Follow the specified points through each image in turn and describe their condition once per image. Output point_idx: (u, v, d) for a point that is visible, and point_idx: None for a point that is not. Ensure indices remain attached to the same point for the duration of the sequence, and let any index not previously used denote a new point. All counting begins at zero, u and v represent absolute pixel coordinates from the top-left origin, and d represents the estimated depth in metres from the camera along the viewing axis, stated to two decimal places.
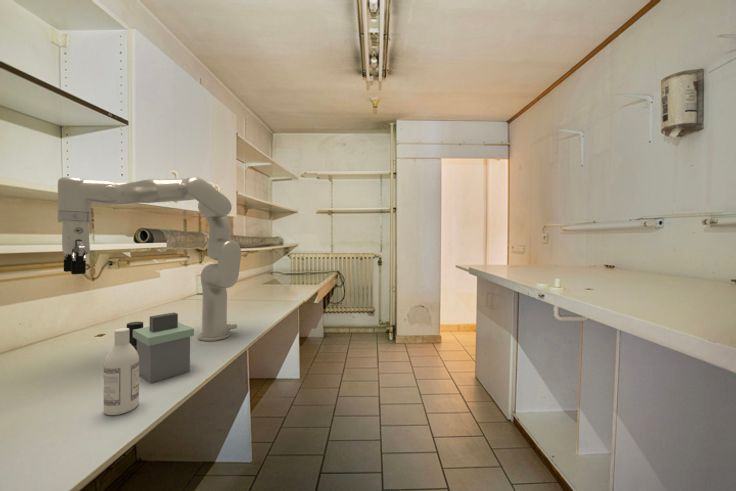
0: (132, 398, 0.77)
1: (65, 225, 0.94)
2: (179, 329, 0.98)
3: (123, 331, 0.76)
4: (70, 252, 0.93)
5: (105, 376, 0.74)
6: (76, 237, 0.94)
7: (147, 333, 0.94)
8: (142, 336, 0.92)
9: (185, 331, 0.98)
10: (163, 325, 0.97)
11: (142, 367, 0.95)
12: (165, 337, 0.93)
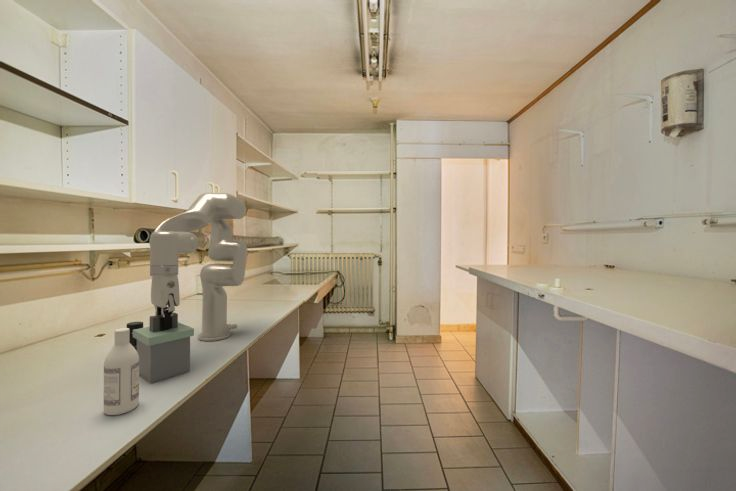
0: (132, 398, 0.77)
1: (158, 279, 0.95)
2: (179, 329, 0.98)
3: (123, 331, 0.76)
4: (163, 306, 0.94)
5: (105, 376, 0.74)
6: (169, 291, 0.95)
7: (147, 333, 0.94)
8: (142, 336, 0.92)
9: (185, 331, 0.98)
10: None
11: (142, 367, 0.95)
12: (165, 337, 0.93)
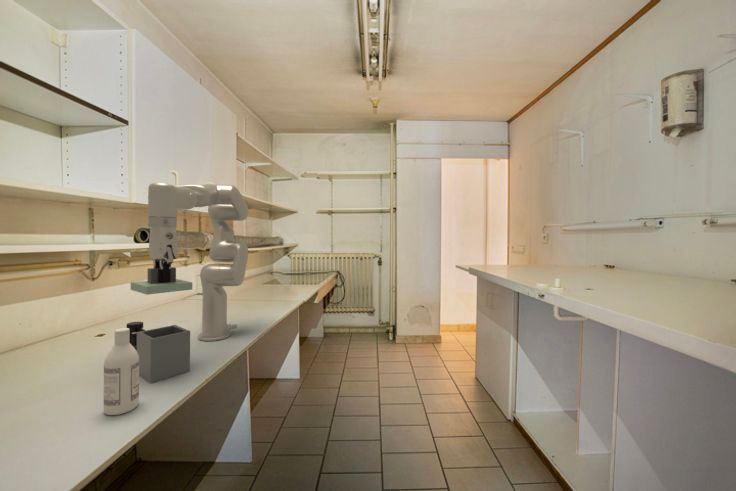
0: (132, 398, 0.77)
1: (156, 230, 0.95)
2: (177, 282, 0.98)
3: (123, 331, 0.76)
4: (162, 257, 0.94)
5: (105, 376, 0.74)
6: (167, 243, 0.94)
7: (145, 284, 0.93)
8: (140, 286, 0.92)
9: (183, 284, 0.97)
10: None
11: (142, 367, 0.95)
12: (163, 287, 0.93)
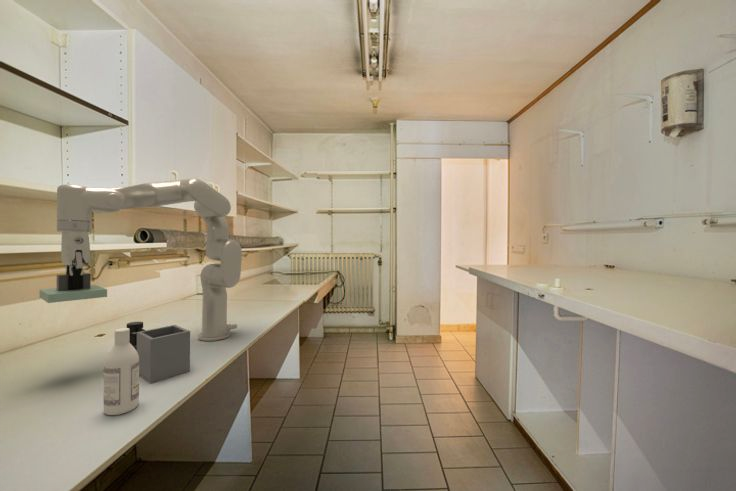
0: (132, 398, 0.77)
1: (64, 235, 0.90)
2: (90, 289, 0.93)
3: (123, 331, 0.76)
4: (70, 263, 0.89)
5: (105, 376, 0.74)
6: (76, 248, 0.89)
7: (51, 291, 0.88)
8: (44, 294, 0.87)
9: (96, 291, 0.92)
10: None
11: (142, 367, 0.95)
12: (69, 295, 0.88)
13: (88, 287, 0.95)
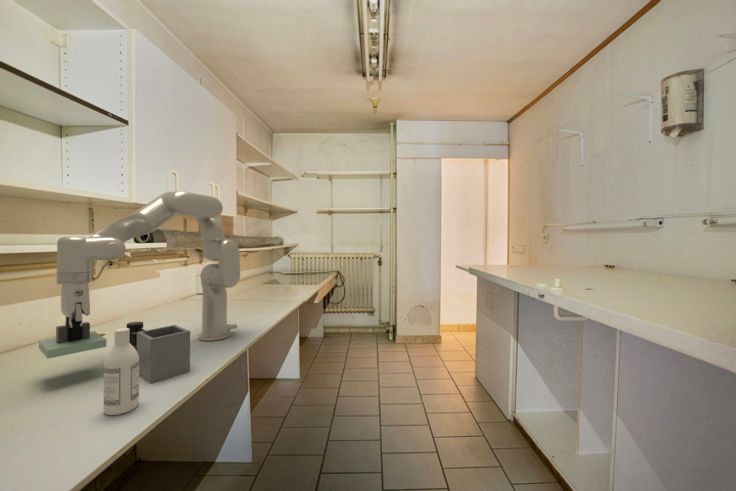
0: (132, 398, 0.77)
1: (64, 287, 0.90)
2: (89, 340, 0.93)
3: (123, 331, 0.76)
4: (69, 316, 0.89)
5: (105, 376, 0.74)
6: (76, 300, 0.90)
7: (51, 344, 0.88)
8: (44, 348, 0.87)
9: (95, 342, 0.92)
10: None
11: (142, 367, 0.95)
12: (69, 348, 0.88)
13: (87, 337, 0.95)
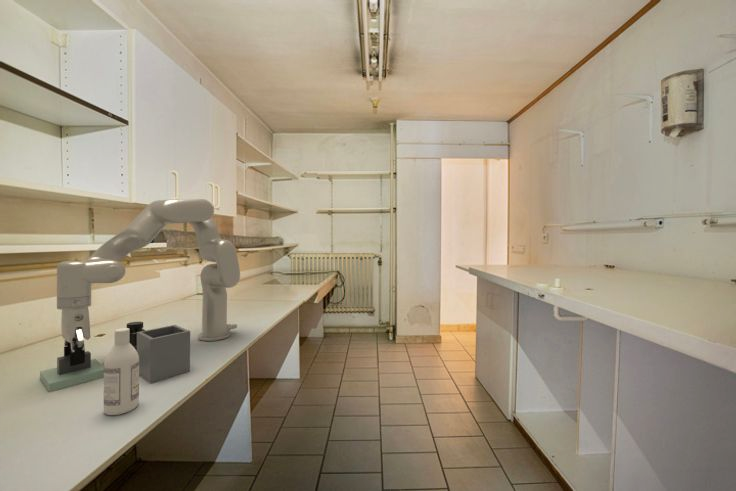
0: (132, 398, 0.77)
1: (64, 312, 0.90)
2: (90, 370, 0.94)
3: (123, 331, 0.76)
4: (70, 341, 0.89)
5: (105, 376, 0.74)
6: (76, 325, 0.90)
7: (52, 376, 0.89)
8: (45, 380, 0.88)
9: (96, 372, 0.93)
10: (73, 366, 0.92)
11: (142, 367, 0.95)
12: (70, 380, 0.88)
13: (88, 366, 0.95)
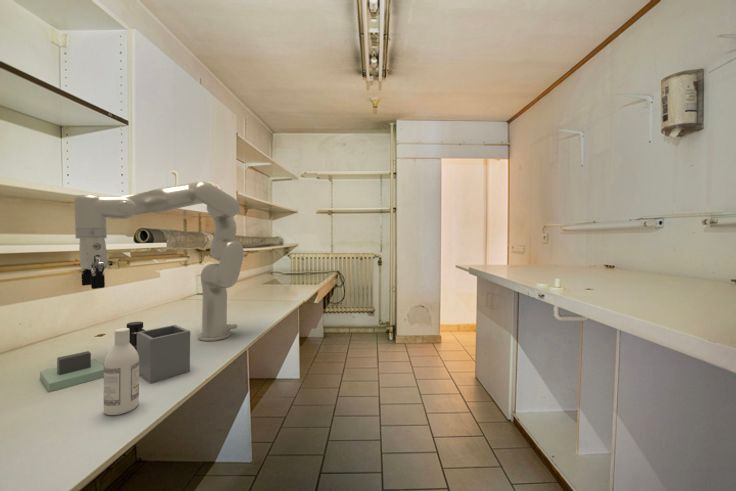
0: (132, 398, 0.77)
1: (83, 241, 0.97)
2: (90, 370, 0.94)
3: (123, 331, 0.76)
4: (89, 267, 0.97)
5: (105, 376, 0.74)
6: (95, 253, 0.97)
7: (52, 376, 0.89)
8: (45, 380, 0.88)
9: (96, 372, 0.93)
10: (73, 366, 0.92)
11: (142, 367, 0.95)
12: (70, 380, 0.88)
13: (88, 366, 0.95)
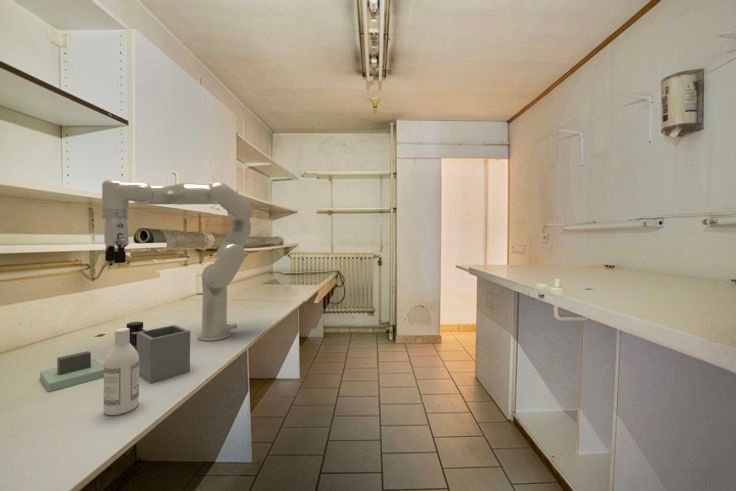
0: (132, 398, 0.77)
1: (108, 221, 1.10)
2: (90, 370, 0.94)
3: (123, 331, 0.76)
4: (113, 244, 1.09)
5: (105, 376, 0.74)
6: (118, 231, 1.10)
7: (52, 376, 0.89)
8: (45, 380, 0.88)
9: (96, 372, 0.93)
10: (73, 366, 0.92)
11: (142, 367, 0.95)
12: (70, 380, 0.88)
13: (88, 366, 0.95)
